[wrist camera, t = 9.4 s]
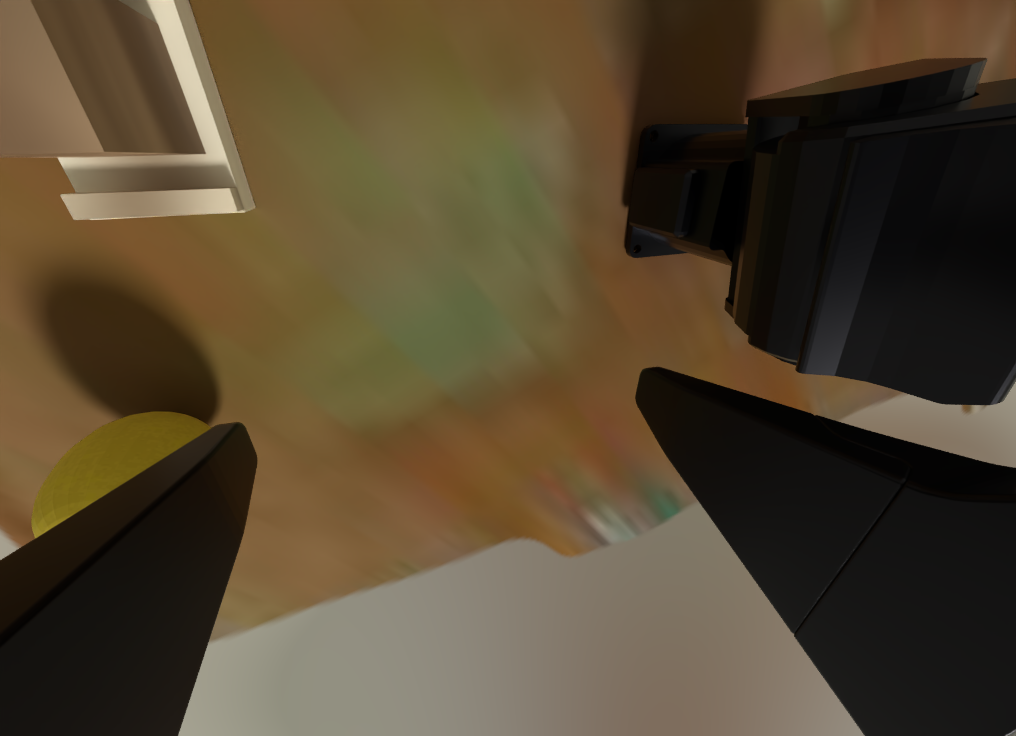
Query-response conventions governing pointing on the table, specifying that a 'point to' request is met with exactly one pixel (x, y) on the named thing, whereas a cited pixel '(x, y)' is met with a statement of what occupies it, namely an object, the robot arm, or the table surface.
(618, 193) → the table surface
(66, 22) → the gray and beige block
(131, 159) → the rail
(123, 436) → the lemon
